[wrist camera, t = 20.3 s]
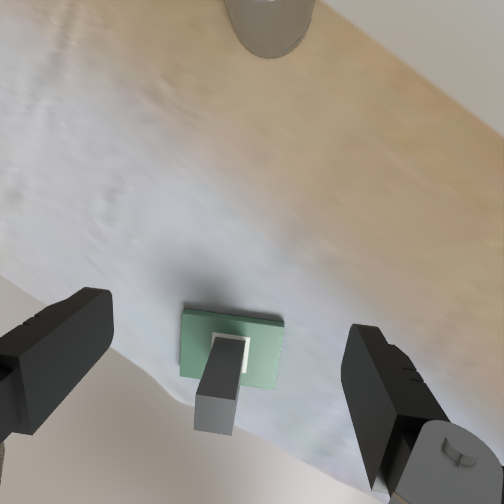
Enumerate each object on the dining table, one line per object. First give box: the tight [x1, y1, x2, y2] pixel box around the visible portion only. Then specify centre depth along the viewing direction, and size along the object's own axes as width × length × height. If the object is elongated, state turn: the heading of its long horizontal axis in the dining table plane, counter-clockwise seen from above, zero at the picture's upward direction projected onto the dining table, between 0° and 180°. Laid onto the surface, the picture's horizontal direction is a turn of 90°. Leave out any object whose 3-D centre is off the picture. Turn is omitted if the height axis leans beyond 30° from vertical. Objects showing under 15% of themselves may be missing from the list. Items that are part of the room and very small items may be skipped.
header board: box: [180, 309, 284, 390], centre depth 47 cm, size 16×12×6 cm
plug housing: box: [194, 337, 246, 435], centre depth 42 cm, size 5×6×12 cm
